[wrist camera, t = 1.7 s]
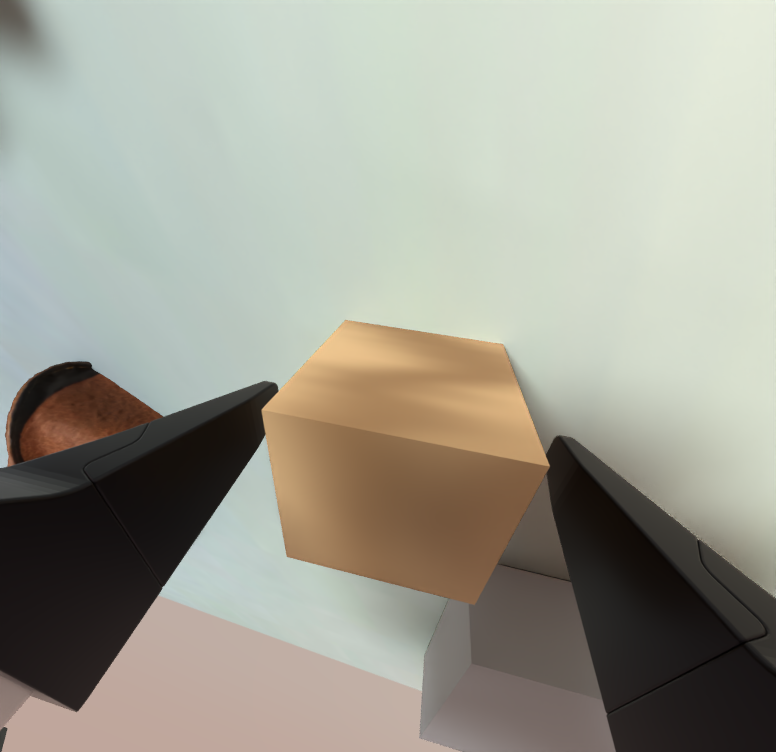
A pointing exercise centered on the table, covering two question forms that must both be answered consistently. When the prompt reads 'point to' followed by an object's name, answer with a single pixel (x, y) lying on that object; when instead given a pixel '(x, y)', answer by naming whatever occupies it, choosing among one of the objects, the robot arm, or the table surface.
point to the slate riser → (513, 672)
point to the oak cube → (403, 458)
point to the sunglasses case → (69, 411)
